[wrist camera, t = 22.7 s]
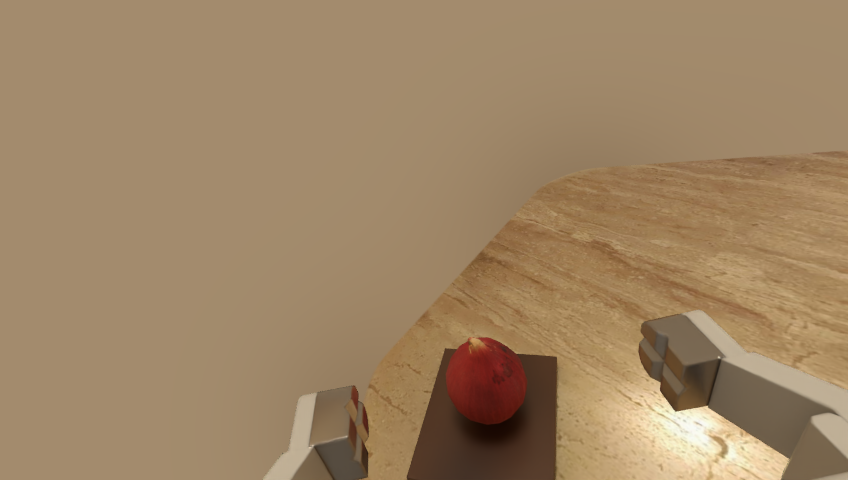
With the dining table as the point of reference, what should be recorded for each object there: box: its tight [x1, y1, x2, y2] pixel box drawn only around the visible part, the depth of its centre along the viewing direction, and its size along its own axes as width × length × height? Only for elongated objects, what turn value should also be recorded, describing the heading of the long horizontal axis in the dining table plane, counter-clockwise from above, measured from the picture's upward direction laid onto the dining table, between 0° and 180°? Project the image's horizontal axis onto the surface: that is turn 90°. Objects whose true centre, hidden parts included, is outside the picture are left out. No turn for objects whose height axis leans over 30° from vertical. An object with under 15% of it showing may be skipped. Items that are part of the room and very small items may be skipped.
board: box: [407, 349, 557, 480], centre depth 32 cm, size 10×12×1 cm
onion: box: [446, 337, 527, 425], centre depth 30 cm, size 6×6×8 cm
